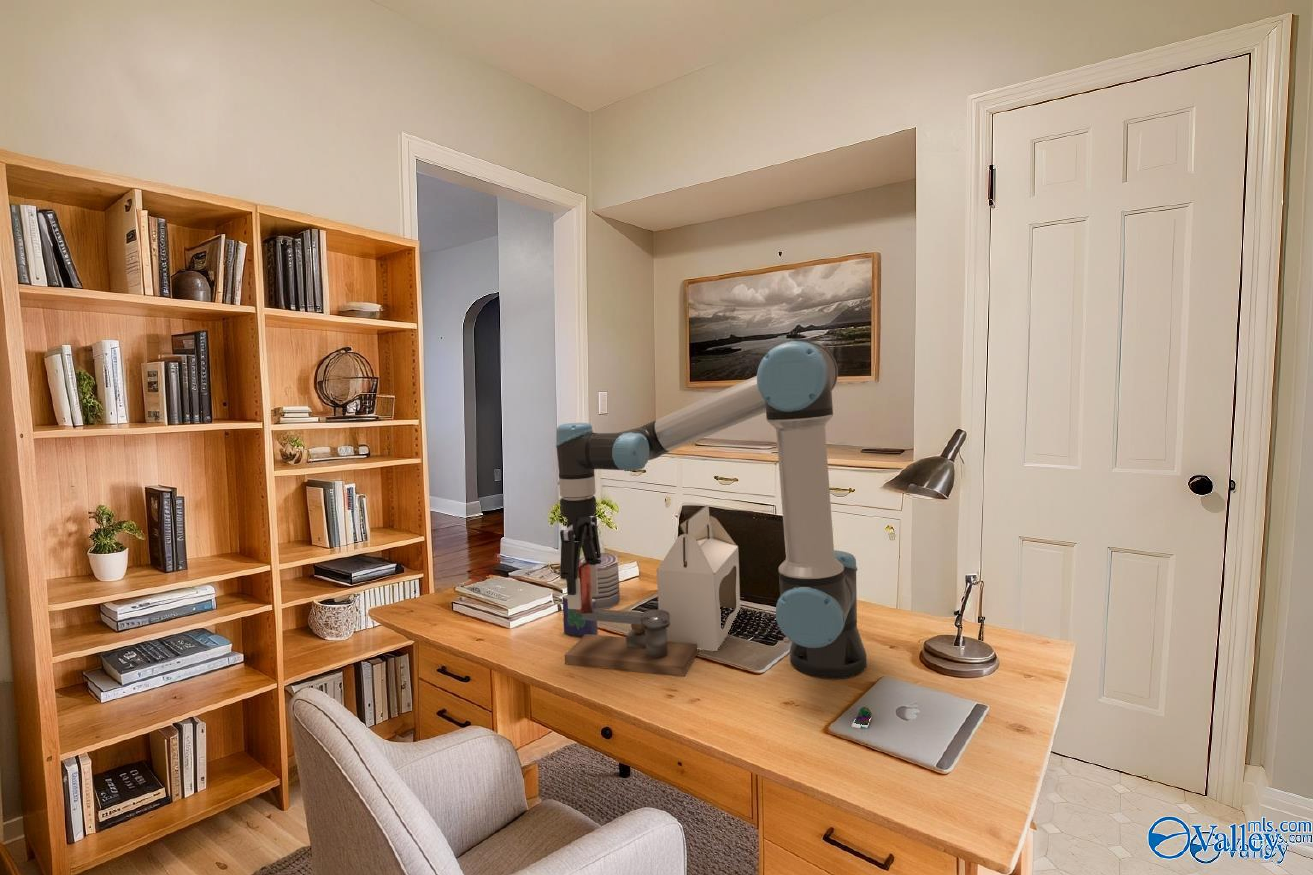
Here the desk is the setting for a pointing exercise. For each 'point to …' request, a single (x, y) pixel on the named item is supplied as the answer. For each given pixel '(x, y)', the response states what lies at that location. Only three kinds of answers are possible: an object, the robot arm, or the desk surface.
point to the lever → (645, 619)
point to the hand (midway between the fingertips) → (583, 600)
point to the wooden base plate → (634, 652)
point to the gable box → (700, 582)
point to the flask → (577, 621)
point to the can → (607, 581)
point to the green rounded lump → (863, 716)
